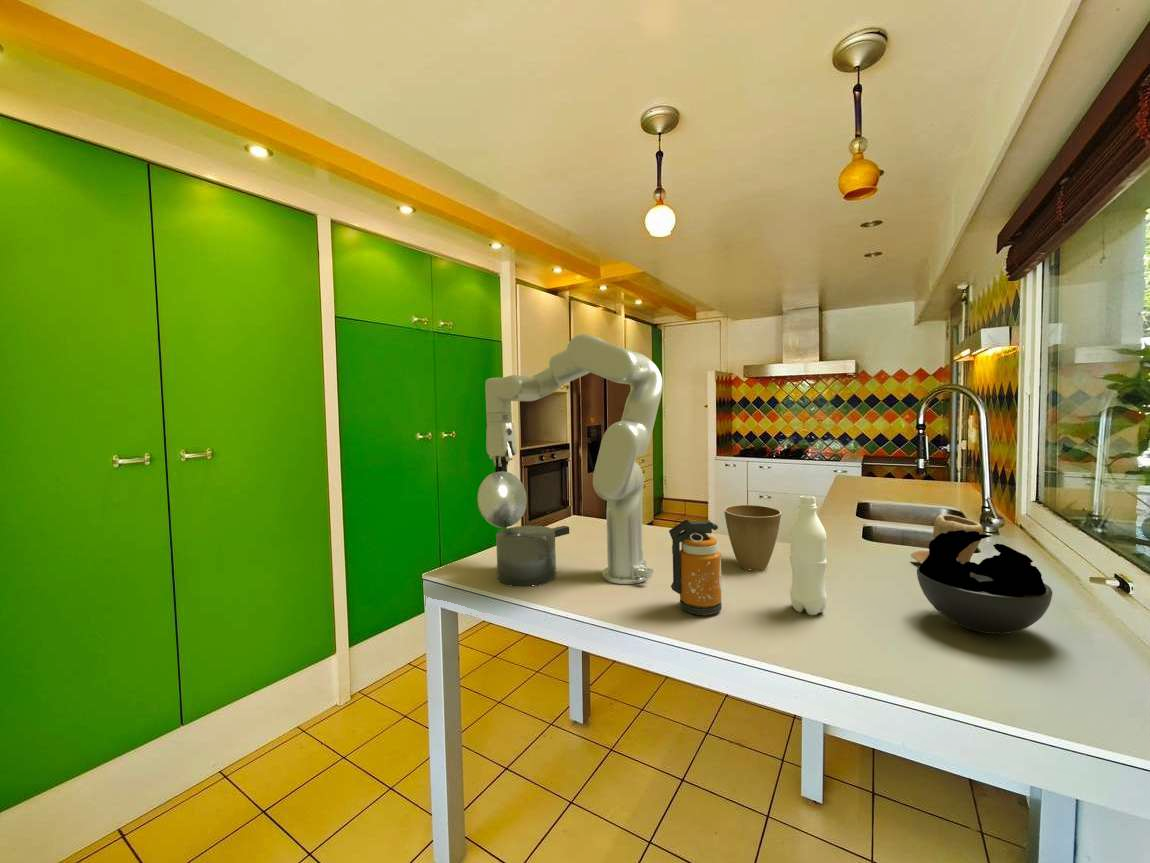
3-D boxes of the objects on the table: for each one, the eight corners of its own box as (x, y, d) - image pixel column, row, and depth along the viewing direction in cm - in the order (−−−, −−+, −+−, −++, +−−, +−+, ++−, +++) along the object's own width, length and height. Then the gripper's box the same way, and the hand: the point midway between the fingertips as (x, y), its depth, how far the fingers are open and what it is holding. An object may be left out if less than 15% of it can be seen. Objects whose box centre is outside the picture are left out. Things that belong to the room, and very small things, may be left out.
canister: (726, 617, 100) (725, 524, 100) (674, 618, 101) (673, 525, 100) (715, 600, 109) (714, 515, 108) (667, 601, 110) (665, 516, 109)
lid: (484, 532, 129) (478, 532, 131) (530, 521, 140) (524, 522, 142) (475, 474, 131) (469, 476, 133) (521, 468, 142) (515, 470, 144)
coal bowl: (919, 599, 107) (920, 517, 106) (1043, 623, 94) (1045, 530, 93) (912, 633, 91) (913, 537, 90) (1060, 666, 78) (1061, 555, 78)
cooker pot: (586, 569, 133) (585, 527, 133) (520, 591, 118) (519, 544, 117) (546, 556, 146) (545, 518, 146) (483, 575, 131) (481, 532, 130)
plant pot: (713, 563, 135) (712, 508, 135) (752, 555, 142) (751, 502, 141) (753, 579, 122) (752, 518, 121) (793, 570, 128) (793, 511, 127)
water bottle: (812, 620, 98) (811, 501, 97) (782, 607, 104) (782, 496, 103) (834, 612, 101) (833, 497, 100) (804, 601, 108) (803, 492, 106)
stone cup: (993, 583, 115) (994, 522, 114) (937, 580, 118) (938, 521, 117) (958, 563, 130) (958, 509, 129) (909, 561, 132) (909, 509, 132)
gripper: (524, 418, 139) (526, 479, 140) (496, 418, 150) (498, 475, 151) (502, 418, 134) (505, 482, 135) (475, 419, 145) (477, 478, 146)
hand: (501, 478), depth 143 cm, fingers closed
